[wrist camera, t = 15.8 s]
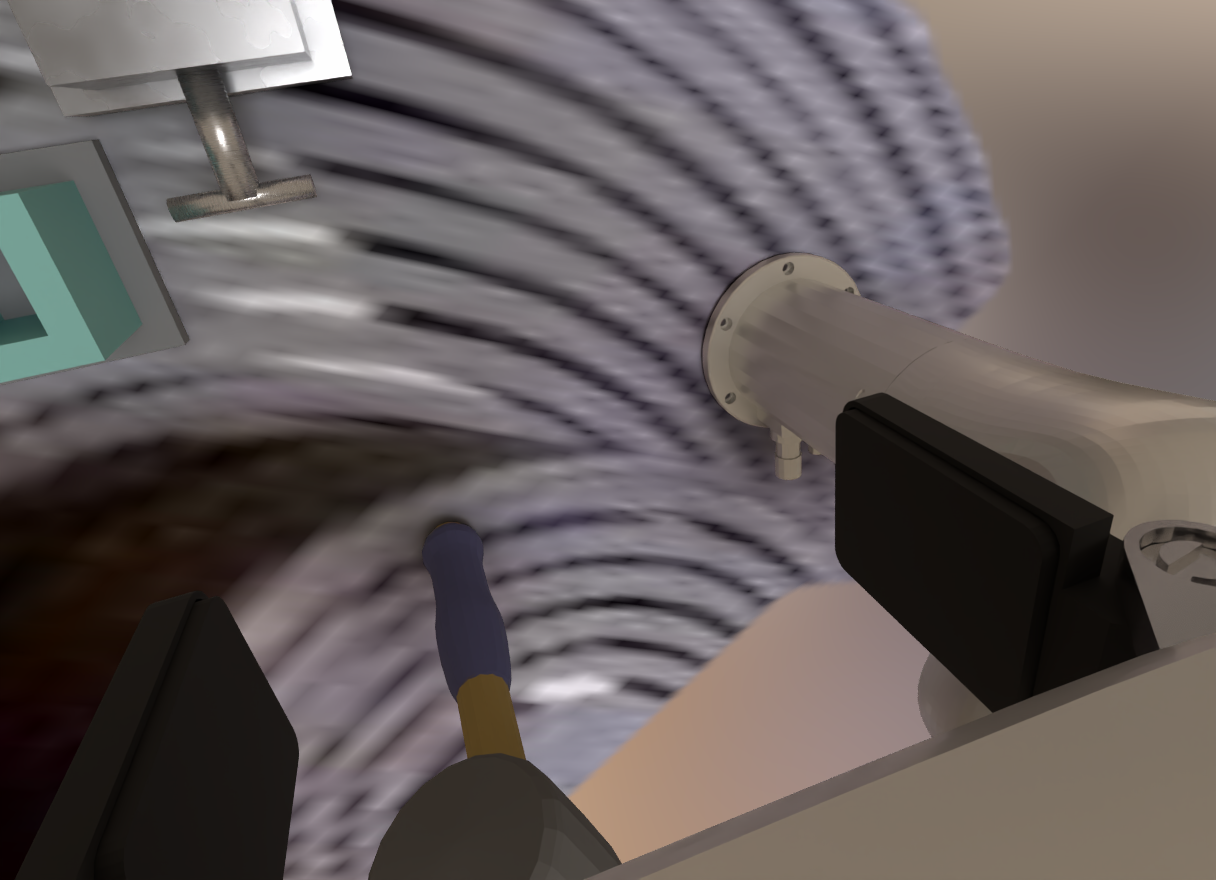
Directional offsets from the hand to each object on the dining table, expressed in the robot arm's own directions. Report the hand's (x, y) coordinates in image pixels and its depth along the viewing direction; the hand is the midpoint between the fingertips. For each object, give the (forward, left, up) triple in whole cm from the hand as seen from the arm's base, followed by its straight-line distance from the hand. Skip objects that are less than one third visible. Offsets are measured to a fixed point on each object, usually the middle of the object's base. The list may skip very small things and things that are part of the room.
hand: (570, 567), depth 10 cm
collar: (+2, +18, -32) cm, 36 cm away
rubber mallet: (-20, +3, -33) cm, 38 cm away
